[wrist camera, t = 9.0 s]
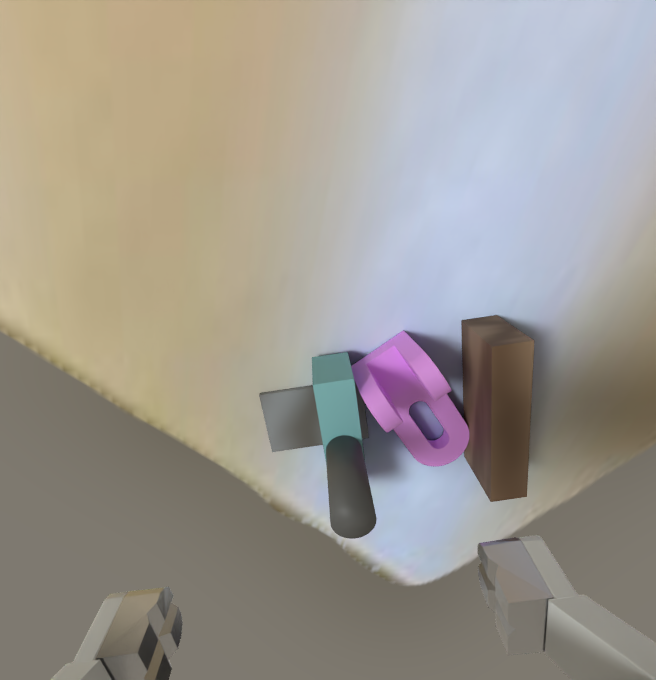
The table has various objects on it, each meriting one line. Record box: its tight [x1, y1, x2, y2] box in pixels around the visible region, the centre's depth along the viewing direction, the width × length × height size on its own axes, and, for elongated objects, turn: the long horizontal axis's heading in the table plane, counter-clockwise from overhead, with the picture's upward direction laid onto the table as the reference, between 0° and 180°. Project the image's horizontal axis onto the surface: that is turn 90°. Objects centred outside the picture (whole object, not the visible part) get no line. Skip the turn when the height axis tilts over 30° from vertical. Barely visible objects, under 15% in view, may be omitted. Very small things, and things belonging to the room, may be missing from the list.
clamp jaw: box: [312, 352, 376, 538], centre depth 30 cm, size 3×12×12 cm, turn 8°
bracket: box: [351, 330, 469, 466], centre depth 33 cm, size 13×6×7 cm, turn 34°
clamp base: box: [259, 315, 534, 502], centre depth 34 cm, size 21×14×6 cm, turn 98°
